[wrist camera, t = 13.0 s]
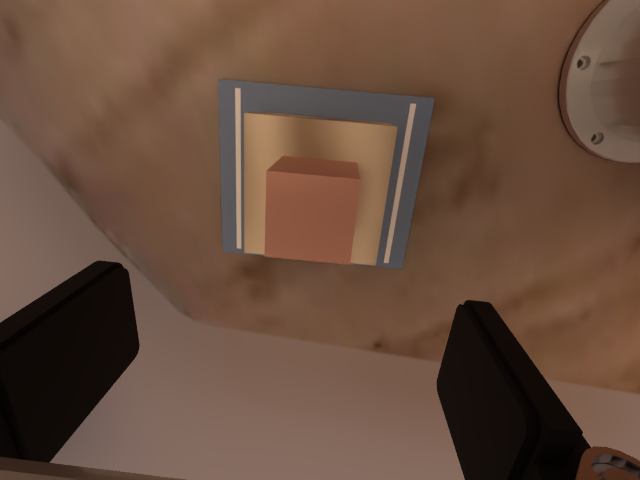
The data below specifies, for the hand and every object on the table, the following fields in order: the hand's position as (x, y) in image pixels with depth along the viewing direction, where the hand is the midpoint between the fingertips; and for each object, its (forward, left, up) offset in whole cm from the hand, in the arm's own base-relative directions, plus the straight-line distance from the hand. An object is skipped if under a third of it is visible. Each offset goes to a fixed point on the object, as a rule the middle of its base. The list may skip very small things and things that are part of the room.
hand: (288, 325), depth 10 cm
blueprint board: (0, 0, -20) cm, 20 cm away
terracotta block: (0, 0, -15) cm, 15 cm away
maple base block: (0, 0, -19) cm, 19 cm away
